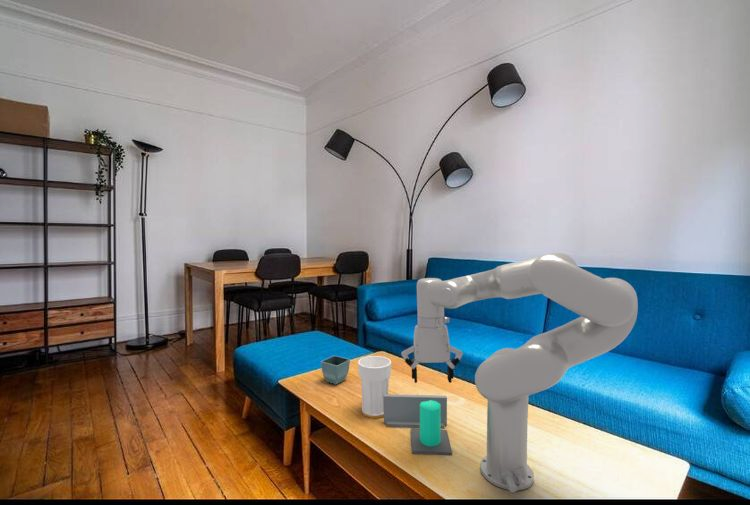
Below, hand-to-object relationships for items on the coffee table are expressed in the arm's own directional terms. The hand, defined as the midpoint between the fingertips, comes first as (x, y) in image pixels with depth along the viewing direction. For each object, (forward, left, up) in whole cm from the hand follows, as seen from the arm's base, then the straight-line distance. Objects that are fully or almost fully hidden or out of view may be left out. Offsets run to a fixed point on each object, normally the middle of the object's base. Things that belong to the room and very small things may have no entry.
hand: (432, 380), depth 100 cm
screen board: (+10, +5, -19) cm, 22 cm away
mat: (0, +1, -19) cm, 19 cm away
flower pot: (+40, +36, -19) cm, 57 cm away
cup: (+17, +18, -19) cm, 31 cm away
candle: (0, +1, -18) cm, 18 cm away
